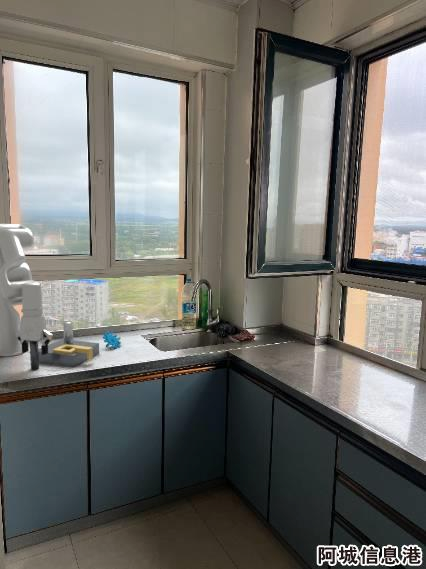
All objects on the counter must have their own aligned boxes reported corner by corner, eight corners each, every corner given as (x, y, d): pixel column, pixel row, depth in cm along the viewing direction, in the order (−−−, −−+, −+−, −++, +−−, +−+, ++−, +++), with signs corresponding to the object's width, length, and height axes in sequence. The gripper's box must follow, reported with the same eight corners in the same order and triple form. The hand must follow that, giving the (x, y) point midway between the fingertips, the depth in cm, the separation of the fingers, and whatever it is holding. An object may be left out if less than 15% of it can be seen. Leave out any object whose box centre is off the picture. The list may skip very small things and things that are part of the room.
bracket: (52, 358, 186) (52, 347, 185) (65, 352, 195) (65, 342, 194) (85, 362, 182) (84, 351, 181) (96, 356, 190) (96, 345, 189)
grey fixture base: (34, 361, 187) (32, 328, 185) (62, 349, 206) (61, 318, 204) (73, 367, 182) (72, 332, 179) (99, 353, 201) (98, 322, 198)
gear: (110, 348, 203) (101, 331, 207) (103, 355, 206) (94, 338, 209) (126, 346, 213) (117, 329, 216) (119, 352, 215) (110, 336, 219)
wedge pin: (29, 369, 178) (27, 341, 176) (34, 367, 181) (33, 339, 179) (35, 370, 177) (34, 342, 175) (40, 367, 180) (39, 340, 178)
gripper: (8, 313, 174) (11, 354, 176) (44, 315, 169) (46, 357, 171) (21, 309, 181) (24, 349, 183) (56, 312, 176) (58, 352, 178)
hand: (35, 353), depth 177 cm, fingers open, 9 cm apart
